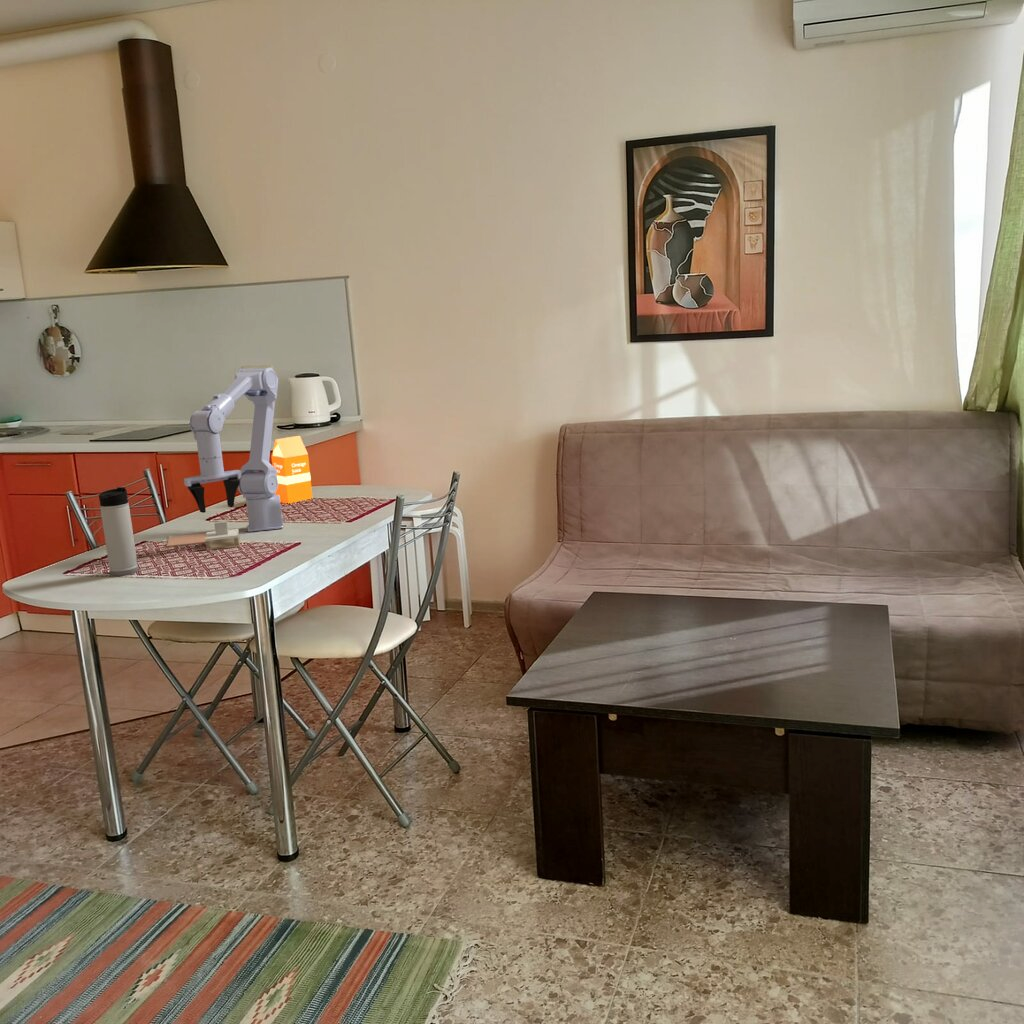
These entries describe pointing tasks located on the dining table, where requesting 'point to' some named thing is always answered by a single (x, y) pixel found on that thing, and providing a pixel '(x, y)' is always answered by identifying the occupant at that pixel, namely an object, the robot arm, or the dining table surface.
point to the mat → (186, 540)
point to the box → (223, 543)
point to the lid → (221, 532)
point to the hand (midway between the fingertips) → (217, 509)
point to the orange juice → (292, 470)
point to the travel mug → (118, 532)
